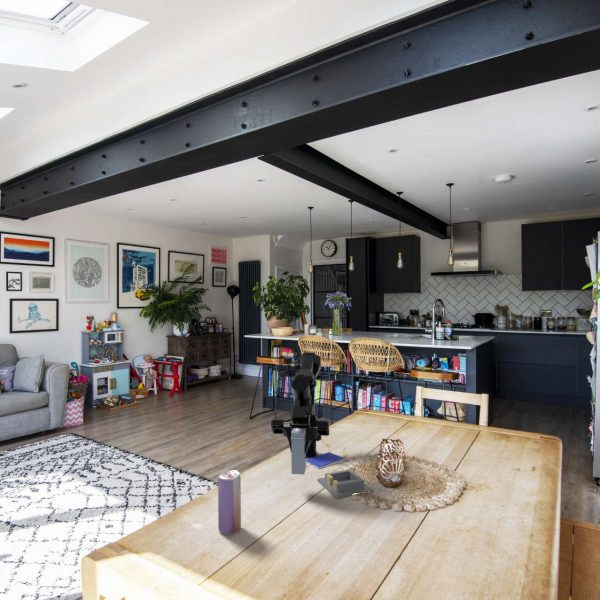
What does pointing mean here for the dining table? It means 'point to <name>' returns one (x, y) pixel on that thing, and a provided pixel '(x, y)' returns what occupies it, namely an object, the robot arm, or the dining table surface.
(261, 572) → the dining table surface
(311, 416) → the robot arm
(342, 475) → the chassis
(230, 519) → the beverage can
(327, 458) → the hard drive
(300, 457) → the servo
